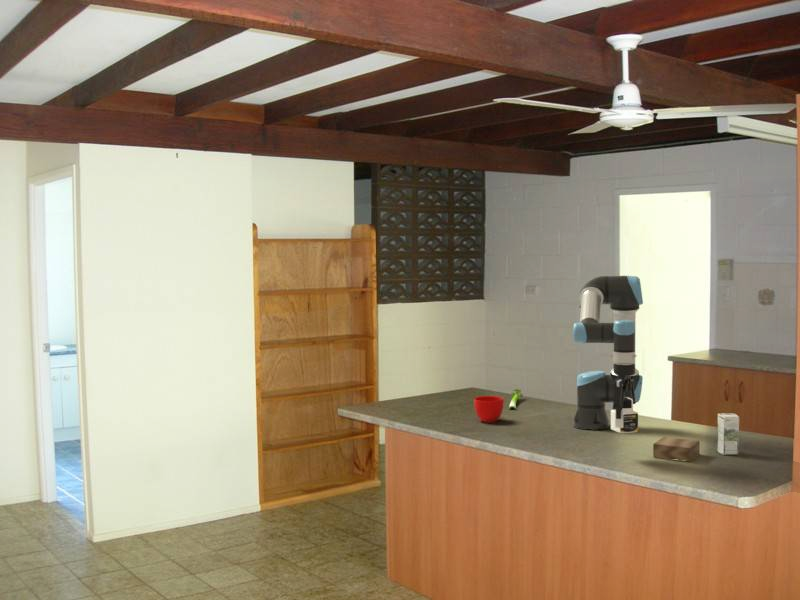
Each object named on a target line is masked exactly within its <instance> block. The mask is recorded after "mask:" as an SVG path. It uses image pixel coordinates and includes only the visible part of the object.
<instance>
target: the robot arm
mask: <svg viewBox="0 0 800 600" xmlns="http://www.w3.org/2000/svg"><path fill="white" fill-rule="evenodd" d="M642 293H643V292H642V286H641V280H640V278H639V277H638V276H636V275H609V276H608V275H601V276H597V277H594V278H592V279H591V280H589V281H587V282H586V283H585V284H584V285H583V287H581V289H580V292H579V297H578V298H579V303H580V305H581V306H580V315H579V316H580V317H579V322H575V323H573V331H572V332H573V334H572V335H573V336H572V337H573V342H575V343H581V344H582V343H583V344H613V350H612V352H613V354H612V355H613V356H612V357H613V359H612V360H613V368H611V370H610V374H606V371H604V370H591V371H586V372H582V373H580V374H578V375H577V378H576V380H577V381H576V394H577V395H576V410H575V414H574V416H573V420H572V427H573V428H577V429H579V428H580V429H579V430H586V429H591V430H590V431H595V430H596V431H598V429H601V430H606V428H607V429H609V428H610V419H609V417H608V414H607V410H606V403H611V404H612V410H615V427H617V428H623V410H622V408H623V402H624V397H629V398H631V399H633V405H636V403H638V402H639V401H640V400H641V396H642V389H643V376H642V375H640V372H639V370H638V369H637V368H636V358H637V354H636V319H637V316H636V313H637V311H639V310H640V306H641V305H643V304H644V302H643V294H642ZM601 305H609V307H610V308H609V309H610V310H611V311H612V312H613V322H601V307H602V306H601ZM632 411H634V409H633V410H632Z"/></svg>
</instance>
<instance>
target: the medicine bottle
mask: <svg viewBox="0 0 800 600" xmlns="http://www.w3.org/2000/svg"><path fill="white" fill-rule="evenodd" d="M622 410H623V428H617V427H615V409H611V410H610V430H612V431H613V432H617V433H618V434H628V433H638V432H639V412H637V411H634V404H633V399H631V398H629V397H624V402H623V408H622ZM632 410H633V411H632Z"/></svg>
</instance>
